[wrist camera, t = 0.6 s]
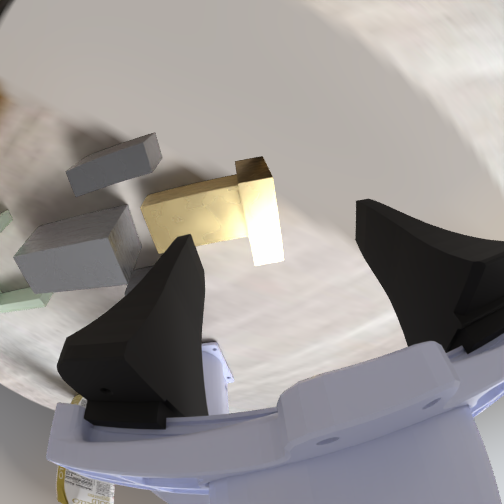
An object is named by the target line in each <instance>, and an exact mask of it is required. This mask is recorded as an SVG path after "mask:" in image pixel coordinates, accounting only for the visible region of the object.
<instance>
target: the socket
mask: <svg viewBox="0 0 504 504" xmlns="http://www.w3.org/2000/svg"><path fill="white" fill-rule="evenodd" d="M161 159H162V155H161V151H160V148H159V144H158V141H157V137H156V134H155V133H151V134H148V135H145V136H142V137H139V138H136V139H133V140H130V141H127V142H124V143H121V144H118V145H115V146H113V147H110V148H107V149H104V150H102V151H99V152H97V153H94V154H92V155H89V156H87V157H85V158H83V159H82V160H80V161H79V162H78V163H76V164H75V165H74V166H72V167H71V168H70V169H68V170H67V171H66V174H67V176H68V179H69V182H70V184H71V187H72V189H73V192H74V194H75V197H78V196H81V195H83V194H86V193H89V192H92V191H95V190H98V189H100V188H103V187H106V186H109V185H112V184H115V183H119V182H122V181H125V180H128V179H131V178H135V177H138V176H141V175H145V174H148V173H152V172H153V171H154V169H155V168H156V166H157V165H158V164H159V162H160V161H161ZM152 267H153V266H151V267H146V268H141V269H136V270H133V272H132V274H131V277H130V280H129V283H128V285H127V288H126V291H125V296H126V295H127V294H128V293H129V292H130V291H131V290H132V289H133V288H134V287H135V286H136V285H137V284H138V283H139V282H140V281H141V280H142V279H143V278H144V277H145V275H146V274H147V273H148V272H149V271H150V270H151V268H152Z"/></svg>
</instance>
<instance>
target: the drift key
mask: <svg viewBox="0 0 504 504" xmlns="http://www.w3.org/2000/svg"><path fill="white" fill-rule="evenodd" d="M235 165H236V172H237V174H236V175H231V176H226V177H221V178H216V179H212V180H207V181H203V182H198V183H194V184H189V185H185V186H181V187H177V188H173V189H169V190H165V191H161V192H157V193H154V194H150V195H147V197H146V199H145V200H144V202H143V204H142V206H141V207H140V208H141V211H142V214H143V216H144V219H145V221H146V224H147V227H148V229H149V232H150V234H151V237H152V239H153V241H154V244H155V246H156V249H157V251H158V253H159V254H161V253H164V252H165V251H166V250H167V249H168V247H169V246H170V245H171V243H172V242H173V241H174V240H175V239H176V238H177V237H179V236H183V235H187V234H191V236H192V238H193V241H194V244H195V246H200V245H205V244H210V243H215V242H220V241H225V240H230V239H235V238H240V237H245V236H249V239H250V244H251V249H252V254H253V258H254V263H255V266H257V265H262V264H268V263H273V262H278V261H283V260H284V256H283V248H282V240H281V232H280V225H279V217H278V210H277V203H276V195H275V189H274V182H273V177H272V175H271V172H270V170H269V168H268V166H267V164H266V162H265V160H264V158H263V157H262V156H261V157H256V158H250V159H245V160H239V161H235Z"/></svg>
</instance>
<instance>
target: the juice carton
mask: <svg viewBox="0 0 504 504" xmlns="http://www.w3.org/2000/svg"><path fill="white" fill-rule="evenodd" d="M71 404H77V405H81V406H83V407H85V408H86V404H87V400H86V399H85V398H84V397H82V396H81V395H80V394H79V395H77V396H75V397H74V398H73V400H72V401H71ZM114 485H115V484H113V483H108V482H104V481H99V480H95V479H91V478H88V477H85V476H83V475H80V474H78V473H75V472H73V471H70V470H68V469H66V468H64V467H61V466H59V465H58V469H57V477H56V493H57V500H58V501H59V502H61V503H62V504H114Z"/></svg>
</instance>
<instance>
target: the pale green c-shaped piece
mask: <svg viewBox="0 0 504 504" xmlns="http://www.w3.org/2000/svg"><path fill="white" fill-rule="evenodd" d="M12 220H13V219H12V217H11V215H10V213H9V211H8V210H6V211H4V212H3V213H1V214H0V233H1V232H2V231H3V230H4V229H5V227H6V226H7V225H8V224H9V223H10V222H11V221H12ZM52 294H53V292H51V293H41V294H34V292H33V291H32V289H31V287H28V288H24V289H19V290H15V291H10V292H6V293H2V292H1V290H0V313H5V312H13V311H20V310H27V309H34V308H41V307H46V305H47V303H48V302H49V300H50V298H51V296H52Z"/></svg>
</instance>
